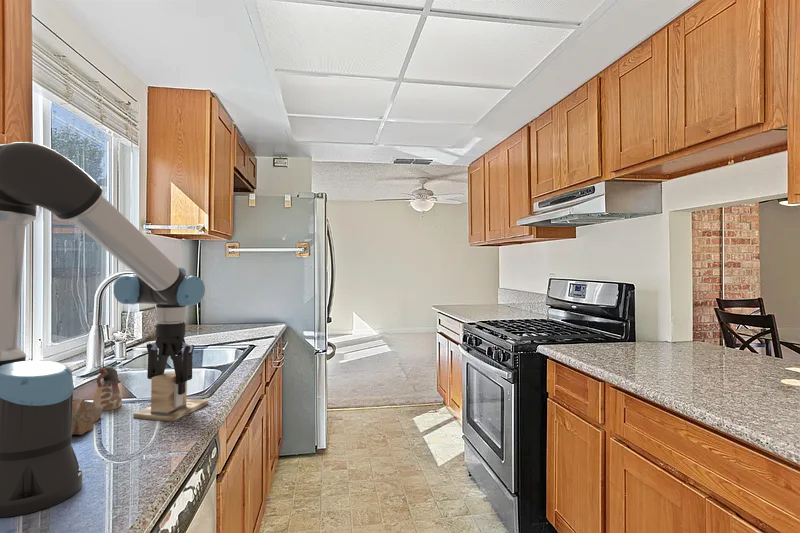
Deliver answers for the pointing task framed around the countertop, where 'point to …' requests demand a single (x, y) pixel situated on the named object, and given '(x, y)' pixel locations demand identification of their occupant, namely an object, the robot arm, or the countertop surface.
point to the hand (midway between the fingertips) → (169, 404)
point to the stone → (84, 416)
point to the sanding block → (165, 394)
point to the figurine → (107, 390)
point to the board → (190, 407)
